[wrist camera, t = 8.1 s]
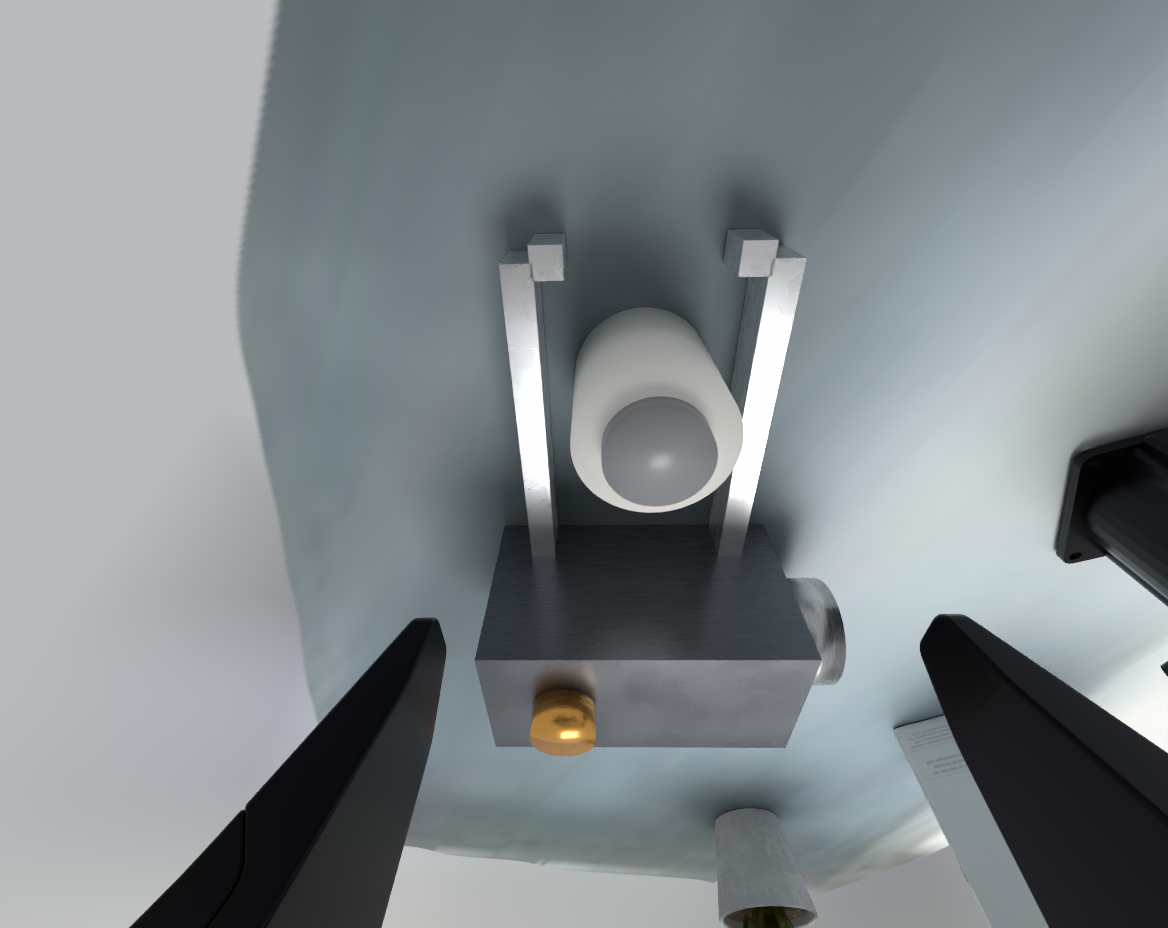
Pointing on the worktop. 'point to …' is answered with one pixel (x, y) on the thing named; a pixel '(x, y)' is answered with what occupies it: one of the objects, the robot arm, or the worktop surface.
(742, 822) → the house plant
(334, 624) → the worktop surface
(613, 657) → the motor clip
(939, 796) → the supplement box
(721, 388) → the bottle
